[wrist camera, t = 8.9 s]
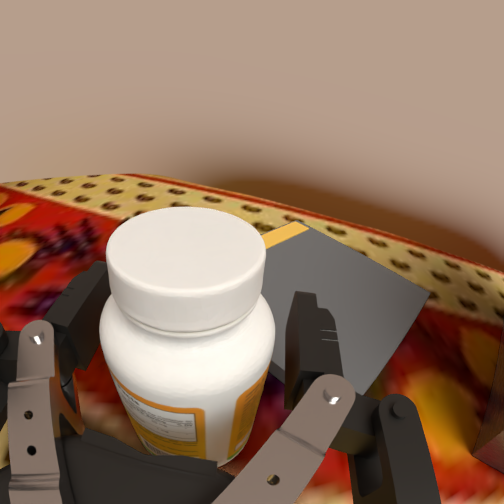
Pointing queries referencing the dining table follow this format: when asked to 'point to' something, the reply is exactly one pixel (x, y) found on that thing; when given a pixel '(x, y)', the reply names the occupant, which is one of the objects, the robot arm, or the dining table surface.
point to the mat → (339, 298)
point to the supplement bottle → (188, 329)
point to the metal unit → (494, 420)
